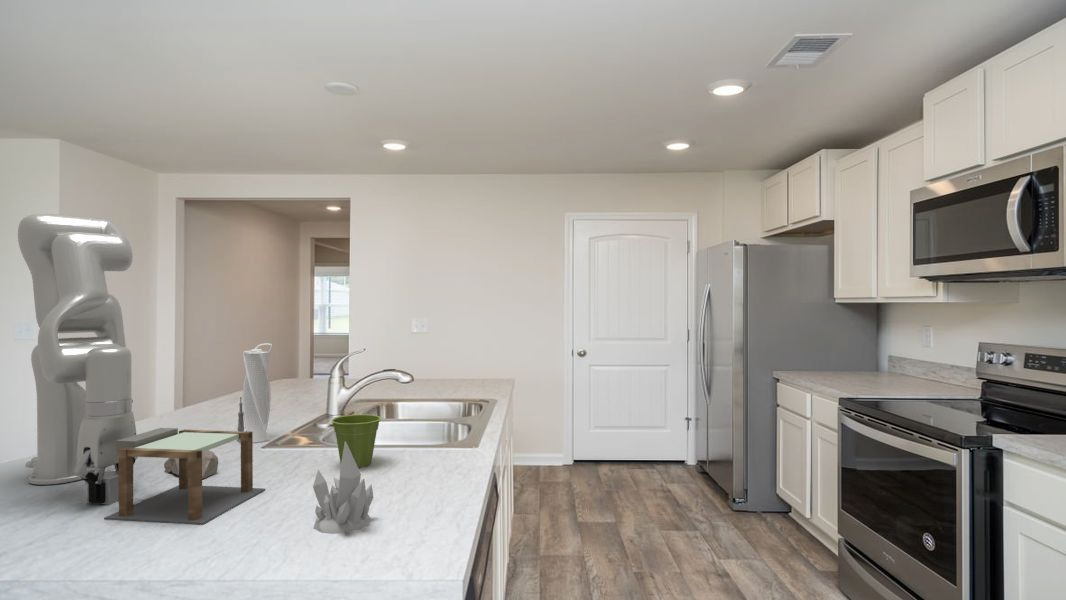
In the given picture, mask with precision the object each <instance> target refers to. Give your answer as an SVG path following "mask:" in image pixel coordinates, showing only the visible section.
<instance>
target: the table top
mask: <svg viewBox="0 0 1066 600" xmlns="http://www.w3.org/2000/svg"><path fill="white" fill-rule="evenodd" d="M264 491H266V488H264V487H262V488H260V487H253V490H251V491H250V492H241V486H240V487H239V486H237V487H236V486H216V485H214V486H213V485H202V517H201V518H199V519H197V520H188V489H179V484H178V485H176V486H173V487H171V488H169V489H166V490H164V491H162V492H160V493H158V494H155V495H153V496H150V497H148V498H146V499H143V500H141V501H139V502H136V503H133V508H134V513H133V514H130V515H128V516H119V510H118V511H117V512H116V511H115V512H114V513H111V514H109V515H107V516H105V517H103V519H104V520H110V521H111V520H112V521H114V520H115V521H131V522H148V523H149V522H150V523H166V524H167V523H168V524H182V523H183V524H185V525H200V524H201V525H202V524H203V525H206V524H207V523H208V521H209V522H210V520H211V521H212V520H214V519H216V518H217V516H218V517H220V516H222V515H223V514H225V513H227V512H229V511H230V510H232V509H234V508H236V507H238V506H240V505H241V504H243V503H245V502H247V501H249V500H250V499H252V498H254V497H256V496H257V495H259V494H261V493H262V492H264ZM235 506H236V507H235ZM233 507H234V508H233ZM231 508H232V509H231ZM229 509H230V510H229ZM228 510H229V511H228ZM226 511H227V512H226ZM224 512H225V513H224ZM222 513H223V514H222ZM219 515H220V516H219ZM215 517H216V518H215ZM201 525H200V526H201Z"/></svg>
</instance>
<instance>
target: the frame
mask: <svg viewBox="0 0 1066 600" xmlns="http://www.w3.org/2000/svg"><path fill="white" fill-rule="evenodd" d="M183 432H194V433H225V434H239V439H241V443H240V487H241V492H250V491H251V490H253V488H254V487H253V485H254V483H253V482H254V480H253V479H254V476H253V473H254V472H253V468H254V467H253V466H254V464H253V462H254V461H253V457H254V456H253V455H254V454H253V451H254V449H253V448H254V446H253V444H254V443H253V434H252V432H248V431H246V430H244V432H241V431H238V430H237V431H236V430H235V431H234V430H208V429H207V430H205V429H181V430H179V431H178V434H180V433H183ZM133 457H138V458H143V457H144V458H160V459H161V458H162V459H163V458H164V459H169V458H179V475H178V485H179V489H188V520H197V519H199V518H201V517H202V486H203V479H202V450H167V449H140V448H123V449H120V450H118V462H119V501H118V511H119V516H128V515H130V514H133V513H134V508H133V505H134V465H133Z"/></svg>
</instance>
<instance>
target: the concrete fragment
mask: <svg viewBox="0 0 1066 600" xmlns="http://www.w3.org/2000/svg"><path fill="white" fill-rule="evenodd" d="M218 467H219V458H218V456H217V455H216V454H215V452H213V451H211V450H208V451H205V452H203V453H202V480H203V479H207V478H208V477H210V476H213V475H215V474H217V472H218V469H219V468H218ZM163 468H164V472H165V473H173V475H174V474H175V476H179V458H167V460H166V461H165V462H164V464H163Z"/></svg>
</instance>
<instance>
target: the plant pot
mask: <svg viewBox="0 0 1066 600" xmlns="http://www.w3.org/2000/svg"><path fill="white" fill-rule="evenodd" d="M381 420H382V417H381V416H379V415H375V414H364V413H363V414H360V413H359V414H346V415H341V416H337V417H334V418H331V419H330V422H331V424H333V430H334V432H335V436H336V444H337V448H338V456H339V461H340V464H341V462H342V456H343V449H344V443H345V441H346V443H347V445H348V447H349V449H350V451H351V454H352V456H353V458H354V460H355V462H356V464H357V467H358V469H359V468H361V467H368V466H370V465H371V464H372V461H373V456H374V449H375V444H376V438H377V437H376V436H377V433H378V430H379V425H380V421H381Z"/></svg>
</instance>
